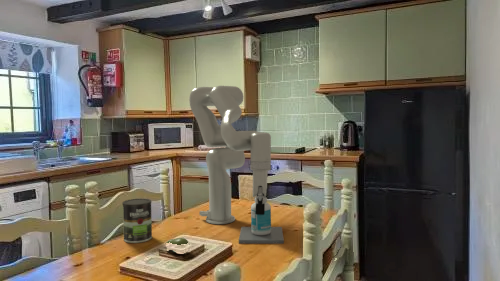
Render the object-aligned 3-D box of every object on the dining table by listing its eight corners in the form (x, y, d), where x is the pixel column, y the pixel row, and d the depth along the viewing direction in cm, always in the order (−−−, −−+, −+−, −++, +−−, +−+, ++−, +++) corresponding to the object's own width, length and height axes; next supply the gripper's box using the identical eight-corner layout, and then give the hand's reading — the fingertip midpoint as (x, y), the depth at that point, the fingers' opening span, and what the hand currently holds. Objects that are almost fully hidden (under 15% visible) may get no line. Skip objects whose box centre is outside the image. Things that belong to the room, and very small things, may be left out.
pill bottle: (274, 231, 141) (273, 196, 140) (266, 237, 135) (266, 200, 134) (256, 229, 144) (255, 194, 143) (248, 234, 138) (247, 198, 137)
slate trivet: (238, 243, 132) (238, 240, 132) (241, 229, 148) (241, 226, 148) (283, 243, 131) (283, 240, 131) (281, 229, 147) (281, 226, 147)
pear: (178, 241, 118) (160, 239, 125) (180, 257, 118) (162, 255, 125) (191, 236, 123) (173, 235, 129) (193, 252, 122) (175, 250, 129)
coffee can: (155, 240, 136) (154, 202, 135) (126, 245, 131) (124, 205, 130) (149, 232, 145) (148, 197, 144) (121, 236, 140) (120, 200, 139)
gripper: (251, 162, 146) (251, 204, 148) (249, 169, 129) (249, 217, 131) (270, 162, 146) (269, 204, 148) (271, 169, 129) (270, 217, 130)
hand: (260, 210), depth 139 cm, fingers open, 9 cm apart
